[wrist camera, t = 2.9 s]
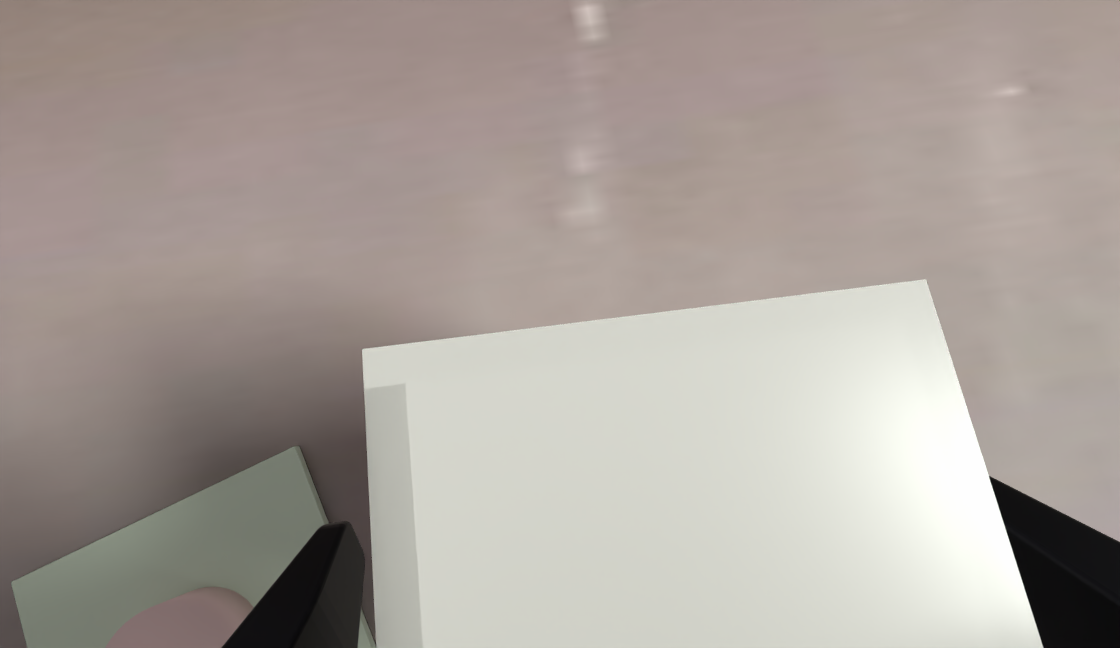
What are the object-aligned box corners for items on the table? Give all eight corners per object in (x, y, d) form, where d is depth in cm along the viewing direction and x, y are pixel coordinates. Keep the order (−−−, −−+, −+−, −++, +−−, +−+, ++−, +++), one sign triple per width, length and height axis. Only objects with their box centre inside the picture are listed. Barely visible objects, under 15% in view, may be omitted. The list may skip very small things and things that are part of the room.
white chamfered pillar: (709, 597, 15) (1146, 975, 4) (502, 631, 14) (400, 1150, 4) (671, 391, 16) (925, 278, 6) (481, 416, 16) (361, 349, 5)
